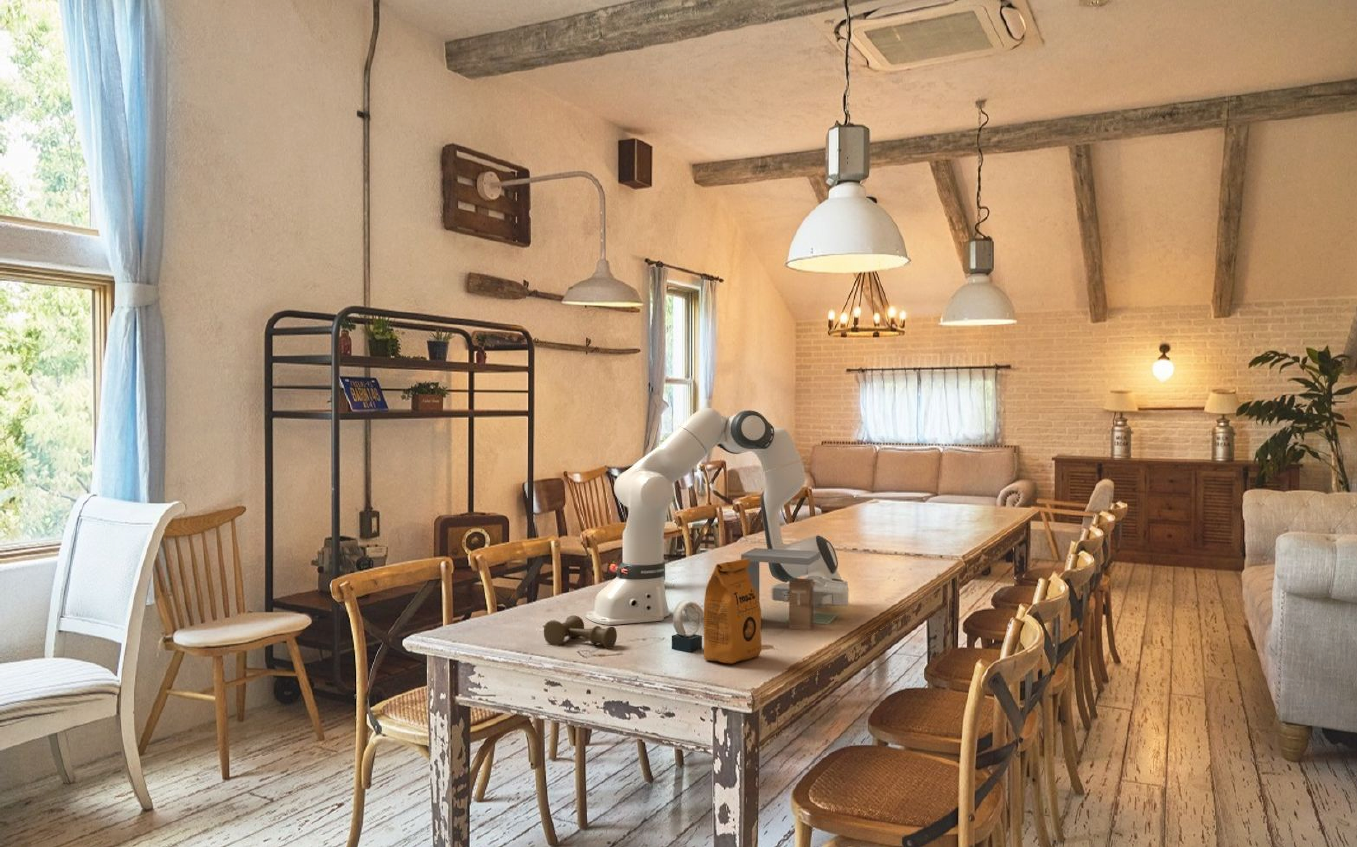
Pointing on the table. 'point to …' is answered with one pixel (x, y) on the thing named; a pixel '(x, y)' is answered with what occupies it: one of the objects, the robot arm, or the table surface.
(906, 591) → the table surface
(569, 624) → the kendama
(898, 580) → the table surface
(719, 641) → the coffee package
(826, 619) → the mat
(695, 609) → the white ring on block
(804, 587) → the letter block
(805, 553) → the awning
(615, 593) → the robot arm
